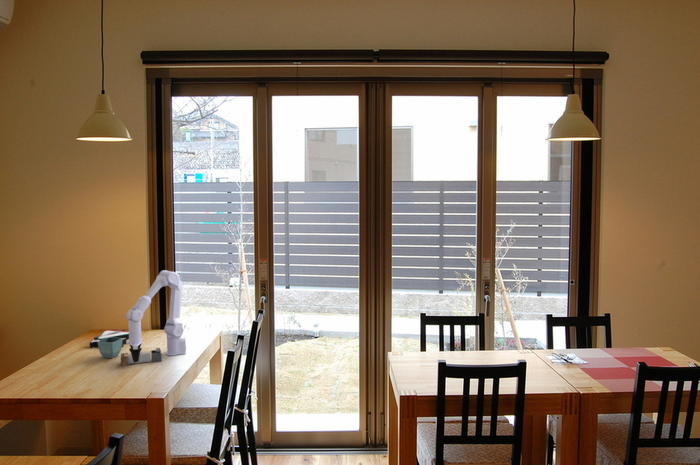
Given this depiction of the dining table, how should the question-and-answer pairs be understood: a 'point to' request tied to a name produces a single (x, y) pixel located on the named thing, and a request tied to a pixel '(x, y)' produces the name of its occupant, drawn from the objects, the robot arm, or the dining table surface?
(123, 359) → the socket
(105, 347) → the flower pot
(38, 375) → the dining table surface
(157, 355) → the sleeve
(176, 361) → the dining table surface
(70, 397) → the dining table surface
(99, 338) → the decorative sign
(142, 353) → the tube
